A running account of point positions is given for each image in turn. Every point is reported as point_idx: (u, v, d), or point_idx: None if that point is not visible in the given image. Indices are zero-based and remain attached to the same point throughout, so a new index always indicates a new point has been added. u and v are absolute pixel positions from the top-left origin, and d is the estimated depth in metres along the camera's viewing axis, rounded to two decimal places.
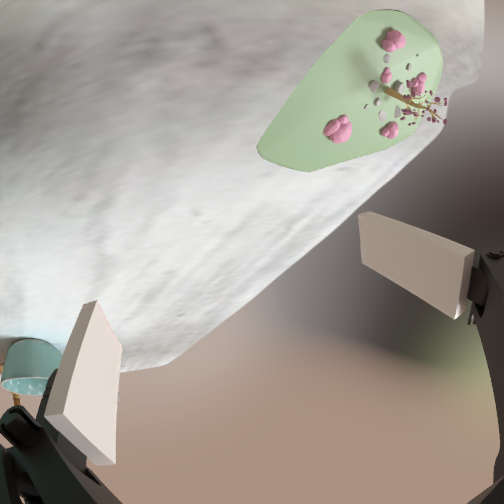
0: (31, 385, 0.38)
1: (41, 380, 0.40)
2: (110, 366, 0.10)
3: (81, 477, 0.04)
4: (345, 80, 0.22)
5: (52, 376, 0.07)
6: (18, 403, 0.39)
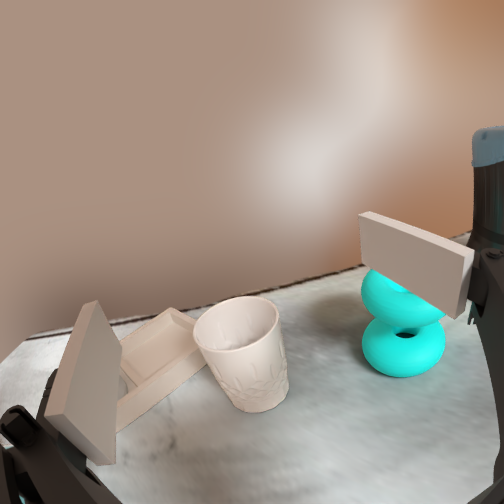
0: None
1: None
2: (110, 366, 0.10)
3: (81, 477, 0.04)
4: None
5: (52, 376, 0.07)
6: None
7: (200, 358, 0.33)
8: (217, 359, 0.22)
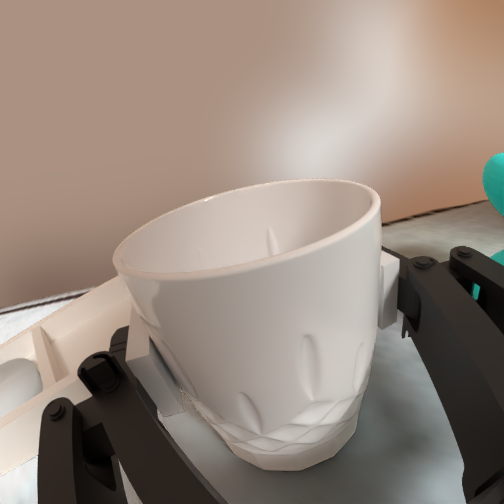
0: None
1: None
2: None
3: (160, 428, 0.05)
4: None
5: (115, 335, 0.09)
6: None
7: None
8: (171, 319, 0.06)
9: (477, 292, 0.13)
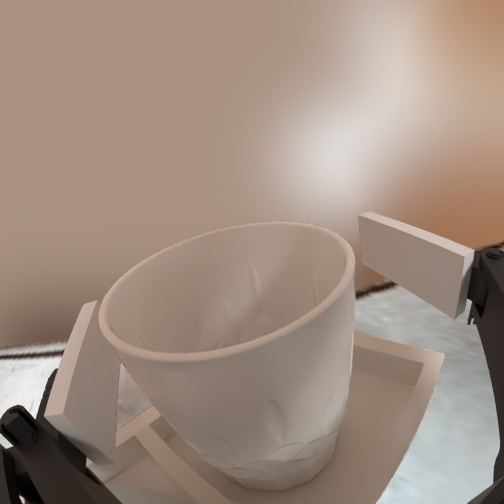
0: None
1: None
2: (110, 366, 0.10)
3: (81, 477, 0.04)
4: None
5: (52, 376, 0.07)
6: None
7: None
8: (151, 383, 0.06)
9: None
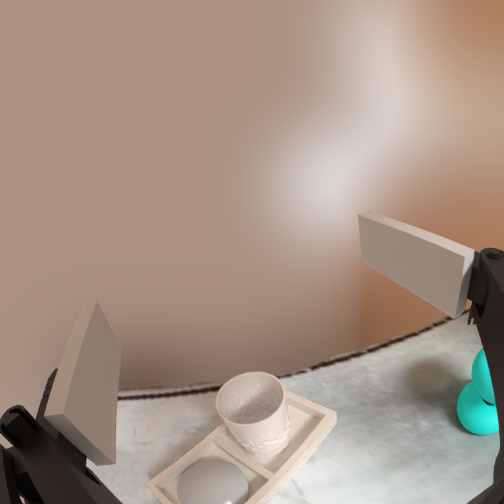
0: None
1: None
2: (110, 366, 0.10)
3: (81, 477, 0.04)
4: None
5: (52, 376, 0.07)
6: None
7: (319, 439, 0.30)
8: (236, 428, 0.26)
9: (458, 404, 0.26)
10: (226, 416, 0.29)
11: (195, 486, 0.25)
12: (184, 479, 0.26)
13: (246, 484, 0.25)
